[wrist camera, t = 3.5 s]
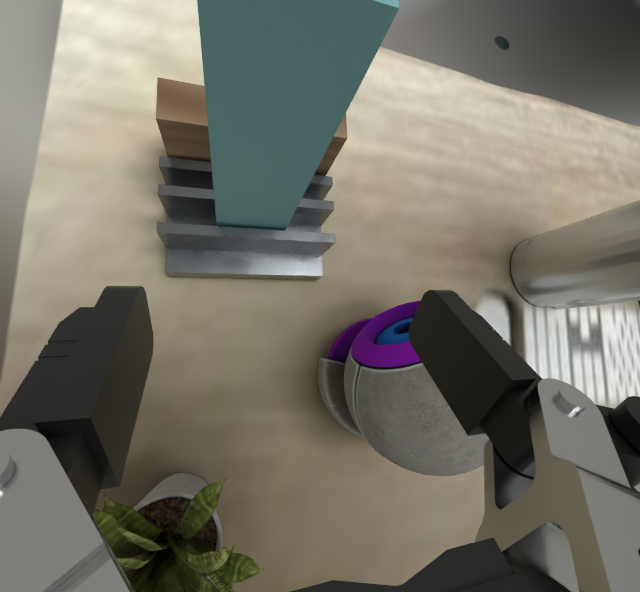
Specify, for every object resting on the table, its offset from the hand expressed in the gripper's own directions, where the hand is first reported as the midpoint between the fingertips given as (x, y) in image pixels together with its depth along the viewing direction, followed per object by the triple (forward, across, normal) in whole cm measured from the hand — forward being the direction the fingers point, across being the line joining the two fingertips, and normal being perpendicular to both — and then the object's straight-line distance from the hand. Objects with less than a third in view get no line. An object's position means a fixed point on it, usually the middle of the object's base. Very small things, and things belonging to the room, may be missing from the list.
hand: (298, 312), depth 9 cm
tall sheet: (+21, 0, +7) cm, 22 cm away
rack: (+24, 0, +7) cm, 25 cm away
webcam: (+12, -13, +19) cm, 26 cm away
